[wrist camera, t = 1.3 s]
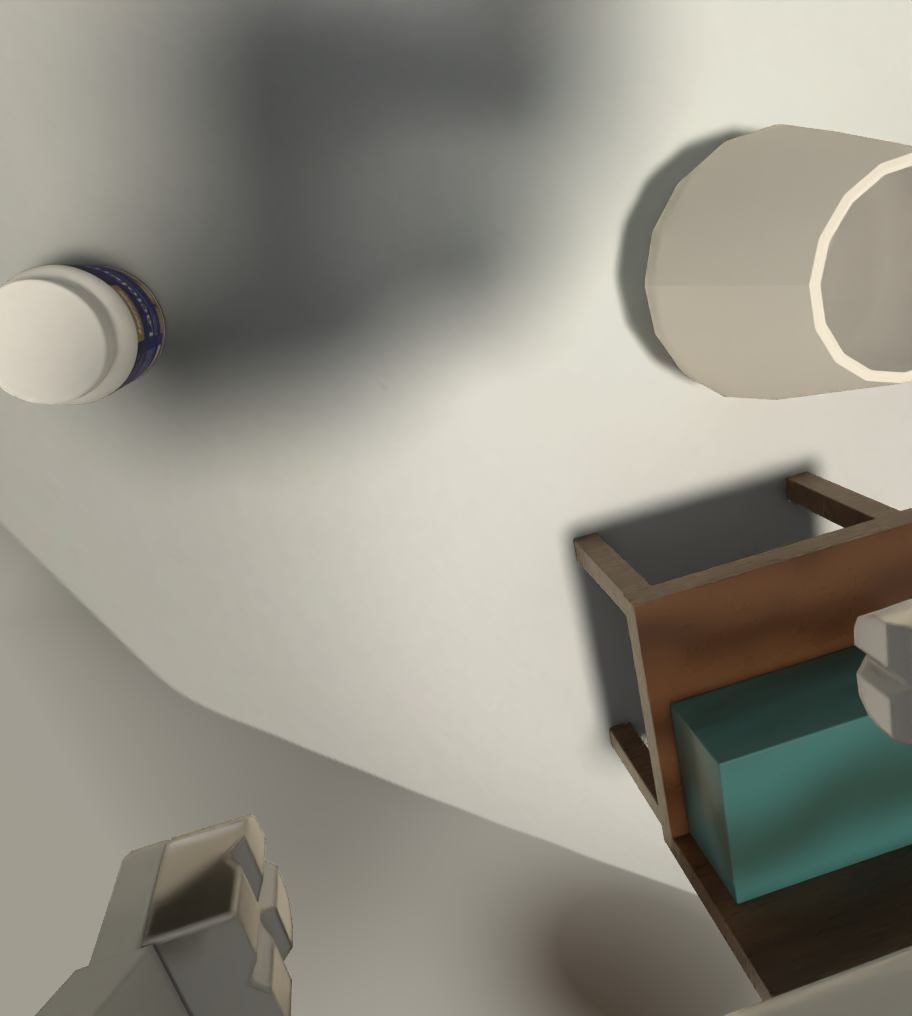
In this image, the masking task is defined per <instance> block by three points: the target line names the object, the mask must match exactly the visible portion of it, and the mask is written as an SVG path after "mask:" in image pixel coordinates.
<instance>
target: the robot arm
mask: <svg viewBox="0 0 912 1016" xmlns="http://www.w3.org/2000/svg"><path fill="white" fill-rule="evenodd" d="M854 645H855V646H856V647H857V648H858V649H860V650H861V651H862V652H863V653H864V654H865V655H866V656H865V658H864V660H863V662H862V664H861V666H860V668H859V670H858V671H857V673H856V674H857V683H858V691H859V696H860V698H861V701H862V703H863V705H864V707H865V709H866V712H867V714H868V715H869V717H870V718H871V719H872V721H873V722H874V723H875V724H876V726H877V727H878V728H879V729H880V730H881V731H882V732H884V733H885V734H886V735H887V736H888V737H889V738H891V739H892V740H893V741H896V742H900V743H903V744H907V745H910V746H912V599H910V600H907V601H904V602H901V603H898V604H895V605H892V606H889V607H886V608H883V609H880V610H877V611H874V612H871V613H868V614H865V615H862V616H859V617H857V620H856V623H855V626H854ZM265 847H266V838H265V836H264V834H263V832H262V829H261V827H260V825H259V823H258V821H257V819H256V818H255V817H254V816H252V815H251V814H249V815H246V816H243V817H239V818H236V819H233V820H229V821H226V822H223V823H219V824H216V825H213V826H209V827H206V828H203V829H200V830H196V831H194V832H190V833H186V834H183V835H180V836H177V837H173V838H172V839H170V840H164V841H161V842H158V843H155V844H152V845H148V846H145V847H142V848H139V849H136V850H133V851H131V852H130V853H129V854H128V855H127V856H125V857H124V859H123V861H122V863H121V866H120V869H119V873H118V876H117V879H116V882H115V885H114V888H113V891H112V894H111V898H110V901H109V904H108V907H107V910H106V913H105V917H104V920H103V923H102V926H101V929H100V932H99V935H98V939H97V942H96V945H95V948H94V951H93V954H92V958H91V961H90V964H89V966H87V967H84V968H81V969H78V970H76V971H75V972H74V973H73V974H72V975H71V976H70V977H69V978H68V979H67V981H66V982H65V983H64V984H63V985H62V986H61V987H60V988H59V989H58V991H57V992H56V993H55V994H54V995H53V996H52V997H51V998H50V999H49V1001H48V1002H47V1003H46V1004H45V1005H44V1006H43V1007H42V1008H41V1009H40V1011H39V1012H38V1013H37V1014H36V1015H35V1016H291V988H292V980H291V978H290V975H289V973H288V971H287V968H286V966H285V964H284V960H285V958H286V957H287V955H288V954H289V952H290V950H291V949H292V947H293V924H292V917H291V910H290V903H289V898H288V895H287V891H286V888H285V884H284V881H283V878H282V876H281V873H280V871H279V869H278V866H276V865H274V864H272V863H270V862H268V861H266V860H265ZM724 1016H912V946H909V947H907V948H904V949H901V950H899V951H896V952H893V953H890V954H888V955H885V956H882V957H880V958H877V959H874V960H872V961H869V962H866V963H864V964H861V965H858V966H856V967H853V968H850V969H848V970H845V971H842V972H839V973H837V974H834V975H831V976H829V977H826V978H823V979H821V980H818V981H815V982H813V983H810V984H807V985H805V986H802V987H799V988H797V989H794V990H791V991H789V992H786V993H783V994H780V995H778V996H775V997H772V998H770V999H767V1000H764V1001H762V1002H759V1003H756V1004H754V1005H751V1006H748V1007H746V1008H743V1009H740V1010H738V1011H735V1012H732V1013H730V1014H727V1015H724Z"/></svg>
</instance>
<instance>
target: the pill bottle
mask: <svg viewBox="0 0 912 1016" xmlns="http://www.w3.org/2000/svg"><path fill="white" fill-rule="evenodd" d="M164 340H165V323H164V318H163V314H162V311H161V309H160V306H159V304H158V303H157V301H156V299H155V297H154V296H153V294H152V293H151V292H150V291H149V289H148V288H147V287H146V286H145V285H144V284H142V283H141V282H140V281H139V280H138V279H136V278H135V277H133V276H131V275H130V274H128V273H126V272H123V271H121V270H118V269H115V268H112V267H107V266H96V265H44V266H38V267H34V268H30V269H27V270H25V271H23V272H21V273H19V274H17V275H15V276H14V277H12V278H11V279H10V280H8V281H7V282H6V283H5V284H4V285H3V286H1V287H0V388H2V389H3V390H4V391H6V392H7V393H9V394H11V395H13V396H14V397H16V398H19V399H21V400H24V401H27V402H31V403H36V404H43V405H54V404H64V405H79V404H87V403H90V402H94V401H97V400H100V399H102V398H104V397H106V396H108V395H110V394H112V393H114V392H115V391H117V390H118V389H120V388H122V387H124V386H125V385H127V384H129V383H130V382H132V381H134V380H136V379H137V378H139V377H140V376H142V375H143V374H145V373H146V372H147V371H148V370H149V369H150V368H151V367H152V366H153V365H154V364H155V362H156V361H157V359H158V358H159V356H160V354H161V351H162V348H163V345H164Z"/></svg>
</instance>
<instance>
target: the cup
mask: <svg viewBox="0 0 912 1016" xmlns="http://www.w3.org/2000/svg"><path fill="white" fill-rule="evenodd" d="M644 285H645V290H646V295H647V299H648V304H649V309H650V313H651V318H652V323H653V327H654V332H655V334H656V336H657V337H658V339H659V340H660V341H661V343H662V344H663V346H664V347H665V349H666V350H667V351H668V353H669V354H670V356H671V357H672V358H673V360H674V361H675V363H676V364H677V366H678V367H679V368H680V370H681V371H682V372H683V373H684V374H685V375H686V376H688V377H690V378H692V379H694V380H695V381H697V382H699V383H701V384H703V385H704V386H706V387H708V388H710V389H711V390H713V391H715V392H717V393H719V394H720V395H722V396H724V397H739V398H756V399H772V400H779V399H786V398H794V397H801V396H809V395H817V394H824V393H832V392H840V391H847V390H855V389H863V388H870V387H878V386H885V385H893V384H901V383H905V382H907V381H910V380H912V146H910V145H905V144H899V143H894V142H888V141H883V140H878V139H872V138H867V137H861V136H856V135H850V134H845V133H840V132H834V131H828V130H820V129H813V128H806V127H799V126H792V125H784V124H783V125H773V126H770V127H767V128H764V129H761V130H758V131H755V132H752V133H749V134H746V135H743V136H740V137H737V138H734V139H731V140H728V141H725V142H724V143H723V144H722V145H721V146H719V147H718V148H717V149H716V150H715V151H714V152H713V153H711V154H710V155H709V156H708V157H707V158H706V159H705V160H704V161H702V162H701V163H700V164H699V165H698V166H697V167H696V168H695V169H693V170H692V171H691V172H690V173H689V174H688V175H687V176H686V177H684V178H683V179H682V180H681V181H680V182H679V183H678V184H677V186H676V188H675V190H674V192H673V194H672V196H671V198H670V199H669V201H668V203H667V205H666V207H665V209H664V211H663V213H662V214H661V216H660V218H659V220H658V222H657V224H656V226H655V227H654V229H653V231H652V237H651V244H650V250H649V257H648V264H647V270H646V277H645V284H644Z"/></svg>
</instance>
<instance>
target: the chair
mask: <svg viewBox="0 0 912 1016" xmlns="http://www.w3.org/2000/svg"><path fill="white" fill-rule="evenodd" d="M786 487H787V499H788V500H790V501H792V502H794V503H796V504H798V505H800V506H802V507H804V508H806V509H808V510H810V511H812V512H814V513H816V514H818V515H820V516H822V517H824V518H826V519H828V520H830V521H832V522H834V523H836V524H838V525H840V526H842V527H844V528H843V529H840V530H836V531H833V532H830V533H826V534H823V535H820V536H816V537H813V538H809V539H806V540H803V541H799V542H796V543H793V544H789V545H786V546H783V547H779V548H776V549H773V550H769V551H766V552H762V553H759V554H756V555H752V556H749V557H746V558H742V559H739V560H736V561H732V562H729V563H726V564H722V565H719V566H716V567H712V568H709V569H705V570H702V571H699V572H695V573H692V574H689V575H685V576H682V577H679V578H675V579H672V580H669V581H665V582H662V583H658V584H655V585H652V586H651V585H650V584H649V583H648V582H647V581H646V580H645V579H644V578H643V577H642V576H641V575H640V574H639V573H638V572H637V571H636V570H635V569H633V568H632V567H631V566H630V565H629V564H628V563H627V562H626V561H625V560H624V559H623V558H622V557H621V556H620V555H619V554H618V553H617V552H616V551H615V550H613V549H612V548H611V547H610V546H609V545H608V544H607V543H606V542H605V541H604V540H603V539H602V538H601V537H600V536H599V535H598V534H597V533H594V534H590V535H587V536H584V537H580V538H577V539H574V546H575V551H576V556H577V561H578V562H579V563H580V564H581V565H582V566H583V567H584V569H585V570H586V571H587V572H588V573H589V574H590V575H591V576H592V578H593V579H594V580H595V581H596V582H597V583H598V584H599V585H600V586H601V588H602V589H603V590H604V591H605V592H606V593H607V594H608V595H609V597H610V598H611V599H612V600H613V601H614V602H615V603H616V604H617V606H618V607H619V608H620V609H621V610H622V611H623V612H624V613H625V615H626V617H627V623H628V629H629V635H630V641H631V647H632V653H633V659H634V664H635V670H636V676H637V682H638V688H639V694H640V700H641V706H642V712H643V717H644V723H645V729H646V735H647V741H648V747H649V749H648V748H647V746H646V745H645V744H644V742H643V741H642V739H641V738H640V736H639V735H638V733H637V732H636V731H635V729H634V728H633V726H632V725H631V723H626V724H623V725H619V726H616V727H613V728H610V735H611V741H612V746H613V748H614V749H615V751H616V752H617V754H618V756H619V757H620V759H621V760H622V762H623V764H624V765H625V767H626V768H627V770H628V772H629V773H630V775H631V776H632V778H633V780H634V781H635V783H636V784H637V786H638V788H639V789H640V791H641V793H642V794H643V796H644V797H645V799H646V801H647V802H648V804H649V805H650V807H651V809H652V810H653V812H654V813H655V815H656V817H657V818H658V820H659V821H660V823H661V825H662V829H663V835H664V840H665V842H666V843H667V845H668V847H669V848H670V850H671V852H672V853H673V855H674V857H675V858H676V860H677V862H678V863H679V865H680V866H681V868H682V870H683V871H684V873H685V875H686V876H687V878H688V880H689V881H690V883H691V884H692V886H693V888H694V889H695V891H696V893H697V894H698V896H699V898H700V899H701V901H702V902H703V904H704V906H705V907H706V909H707V911H708V912H709V914H710V915H711V917H712V919H713V920H714V922H715V924H716V925H717V927H718V929H719V930H720V932H721V933H722V935H723V937H724V938H725V940H726V942H727V943H728V945H729V947H730V948H731V950H732V951H733V953H734V954H735V956H736V958H737V960H738V961H739V963H740V965H741V966H742V968H743V970H744V971H745V973H746V974H747V976H748V978H749V979H750V981H751V983H752V984H753V986H754V988H755V989H756V991H757V992H758V994H759V996H760V997H761V999H762V1001H764V1000H767V999H770V998H772V997H775V996H778V995H780V994H783V993H786V992H789V991H791V990H794V989H797V988H799V987H802V986H805V985H807V984H810V983H813V982H815V981H818V980H821V979H823V978H826V977H829V976H831V975H834V974H837V973H839V972H842V971H845V970H848V969H850V968H853V967H856V966H858V965H861V964H864V963H866V962H869V961H872V960H874V959H877V958H880V957H882V956H885V955H888V954H890V953H893V952H896V951H899V950H901V949H904V948H907V947H909V946H912V746H910V745H907V744H903V743H900V742H896V741H893V740H892V739H891V738H889V737H888V736H887V735H886V734H885V733H884V732H882V731H881V730H880V729H879V728H878V727H877V726H876V724H875V723H874V722H873V721H872V719H871V718H870V717H869V715H868V714H867V712H866V709H865V707H864V705H863V703H862V701H861V698H860V696H859V691H858V683H857V674H856V673H857V671H858V670H859V668H860V666H861V664H862V662H863V660H864V658H865V656H866V655H865V654H864V653H863V652H862V651H861V650H860V649H858V648H857V647H856V646H855V645H854V626H855V623H856V620H857V617H859V616H862V615H865V614H868V613H871V612H874V611H877V610H880V609H883V608H886V607H889V606H892V605H895V604H898V603H901V602H904V601H907V600H910V599H912V508H910V509H907V510H903V511H899V510H896V509H894V508H892V507H889V506H887V505H885V504H882V503H880V502H877V501H875V500H873V499H870V498H868V497H866V496H863V495H861V494H858V493H856V492H854V491H851V490H849V489H847V488H844V487H842V486H840V485H837V484H835V483H832V482H830V481H828V480H825V479H823V478H821V477H818V476H816V475H814V474H811V473H809V472H805V473H801V474H798V475H794V476H791V477H787V478H786Z"/></svg>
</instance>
